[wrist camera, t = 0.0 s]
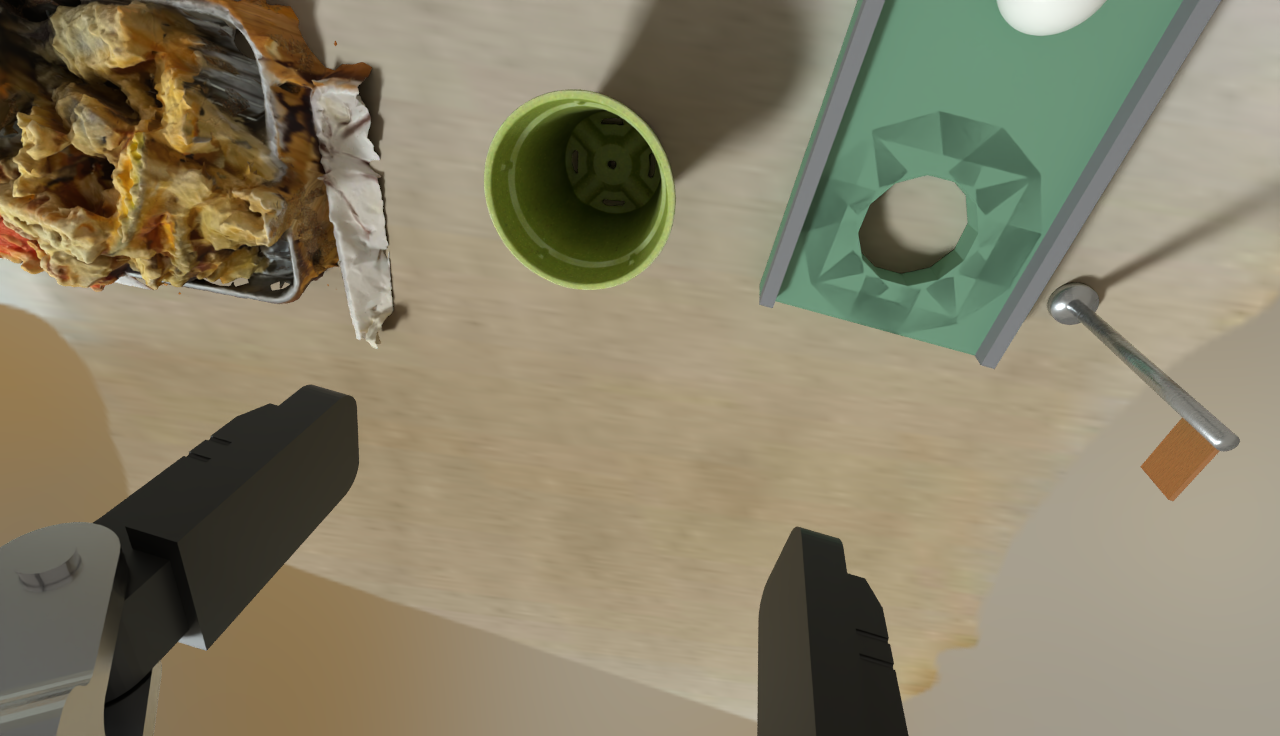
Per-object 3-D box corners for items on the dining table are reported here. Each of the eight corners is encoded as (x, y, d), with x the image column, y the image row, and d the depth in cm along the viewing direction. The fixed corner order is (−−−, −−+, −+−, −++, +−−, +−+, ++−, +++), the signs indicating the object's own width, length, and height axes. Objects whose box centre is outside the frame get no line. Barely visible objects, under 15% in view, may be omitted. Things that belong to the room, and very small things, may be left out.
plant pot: (695, 75, 33) (676, 89, 26) (691, 242, 38) (673, 295, 30) (533, 76, 35) (469, 90, 27) (548, 236, 39) (497, 285, 32)
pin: (1061, 277, 35) (1217, 409, 23) (1103, 288, 35) (1281, 427, 23) (1021, 342, 37) (1143, 494, 25) (1059, 353, 37) (1201, 510, 25)
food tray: (-2, 253, 49) (-178, 305, 40) (-177, -150, 36) (-496, -210, 27) (402, 337, 46) (312, 414, 37) (369, -71, 33) (218, -108, 24)
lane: (933, -220, 26) (953, -249, 23) (1262, -145, 25) (1322, -165, 23) (759, 284, 38) (759, 304, 36) (977, 343, 38) (994, 368, 35)
